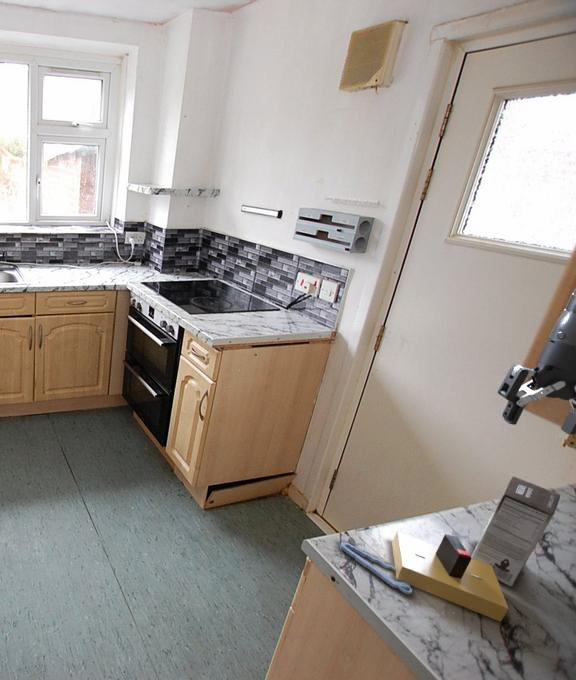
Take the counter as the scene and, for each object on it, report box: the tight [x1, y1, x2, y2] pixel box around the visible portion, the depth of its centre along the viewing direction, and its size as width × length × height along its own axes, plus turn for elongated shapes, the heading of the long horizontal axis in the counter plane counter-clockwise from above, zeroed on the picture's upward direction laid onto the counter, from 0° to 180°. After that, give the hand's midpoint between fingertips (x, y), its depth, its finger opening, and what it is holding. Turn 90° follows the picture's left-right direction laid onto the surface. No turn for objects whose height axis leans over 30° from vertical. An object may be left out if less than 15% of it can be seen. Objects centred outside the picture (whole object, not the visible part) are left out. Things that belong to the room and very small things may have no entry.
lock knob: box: [436, 533, 472, 579], centre depth 78 cm, size 5×2×5 cm, turn 164°
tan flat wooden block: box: [391, 530, 509, 623], centre depth 79 cm, size 14×10×3 cm
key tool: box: [340, 541, 413, 595], centre depth 81 cm, size 12×1×5 cm
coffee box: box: [471, 476, 561, 587], centre depth 81 cm, size 9×6×16 cm
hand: (537, 427), depth 80 cm, fingers open, 8 cm apart
